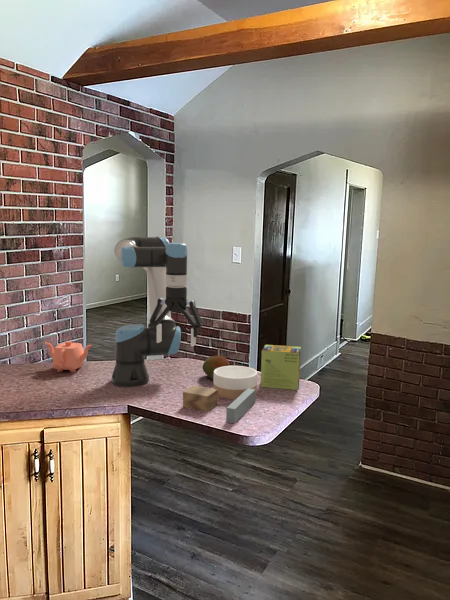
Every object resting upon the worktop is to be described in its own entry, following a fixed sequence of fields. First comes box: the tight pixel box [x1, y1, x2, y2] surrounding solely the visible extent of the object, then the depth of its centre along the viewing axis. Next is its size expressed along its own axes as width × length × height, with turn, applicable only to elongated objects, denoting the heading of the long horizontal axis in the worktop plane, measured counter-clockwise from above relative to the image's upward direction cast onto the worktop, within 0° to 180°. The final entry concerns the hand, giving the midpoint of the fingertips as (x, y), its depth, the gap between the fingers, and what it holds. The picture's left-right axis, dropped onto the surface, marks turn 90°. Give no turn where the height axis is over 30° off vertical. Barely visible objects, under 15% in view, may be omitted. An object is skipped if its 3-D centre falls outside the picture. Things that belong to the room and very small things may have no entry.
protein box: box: [260, 344, 302, 391], centre depth 212 cm, size 10×15×16 cm
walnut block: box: [182, 385, 219, 413], centre depth 187 cm, size 10×8×6 cm
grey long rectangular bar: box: [225, 388, 257, 424], centre depth 182 cm, size 3×22×5 cm, turn 159°
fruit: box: [202, 355, 231, 379], centre depth 220 cm, size 12×12×10 cm
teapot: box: [44, 340, 93, 373], centre depth 228 cm, size 15×17×13 cm
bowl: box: [212, 365, 258, 400], centre depth 203 cm, size 17×17×8 cm
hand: (176, 343), depth 189 cm, fingers open, 13 cm apart
